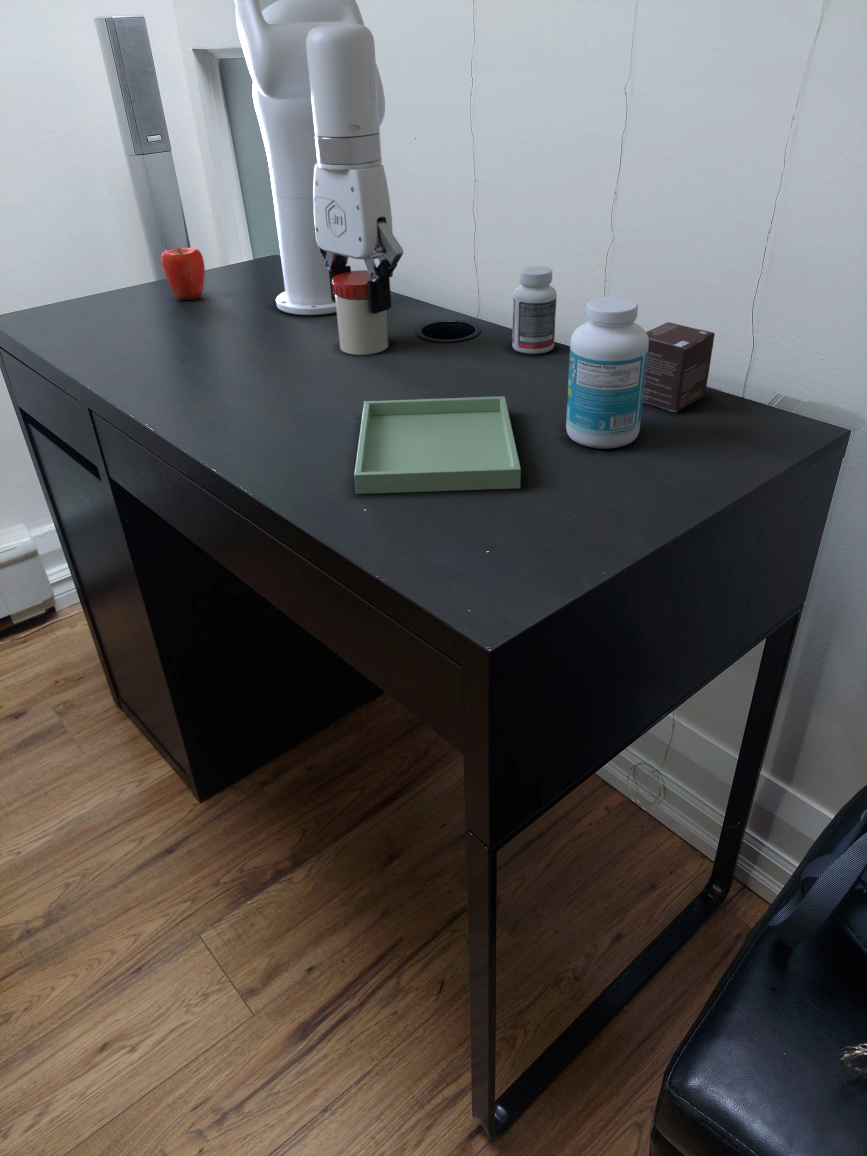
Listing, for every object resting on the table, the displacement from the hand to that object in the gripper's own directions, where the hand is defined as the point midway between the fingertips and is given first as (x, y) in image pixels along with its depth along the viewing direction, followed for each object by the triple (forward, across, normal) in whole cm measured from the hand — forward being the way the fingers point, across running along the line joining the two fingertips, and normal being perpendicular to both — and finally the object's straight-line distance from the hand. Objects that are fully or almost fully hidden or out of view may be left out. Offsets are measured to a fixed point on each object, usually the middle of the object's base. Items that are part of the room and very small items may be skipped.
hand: (361, 304), depth 108 cm
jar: (+6, 0, 0) cm, 6 cm away
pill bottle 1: (+6, +17, +14) cm, 23 cm away
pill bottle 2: (+6, +40, -2) cm, 40 cm away
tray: (+6, +29, -16) cm, 34 cm away
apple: (+6, -39, -3) cm, 39 cm away
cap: (-3, 0, 0) cm, 3 cm away
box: (+6, +39, +11) cm, 41 cm away
